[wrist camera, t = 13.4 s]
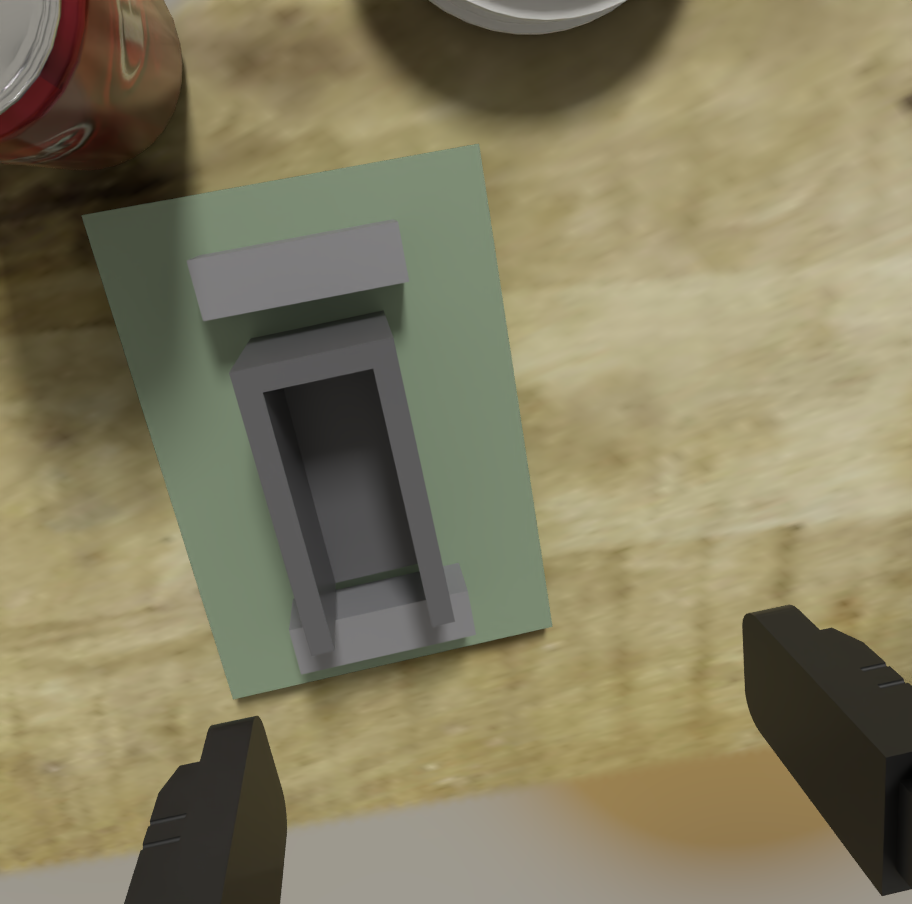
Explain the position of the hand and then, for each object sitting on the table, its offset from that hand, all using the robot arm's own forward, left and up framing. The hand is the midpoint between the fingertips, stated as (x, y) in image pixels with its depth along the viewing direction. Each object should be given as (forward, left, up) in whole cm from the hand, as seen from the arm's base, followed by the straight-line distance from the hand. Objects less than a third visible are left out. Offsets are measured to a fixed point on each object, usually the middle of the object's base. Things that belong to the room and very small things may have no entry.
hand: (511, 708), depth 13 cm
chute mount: (+1, -3, -20) cm, 21 cm away
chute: (+1, -3, -19) cm, 19 cm away
